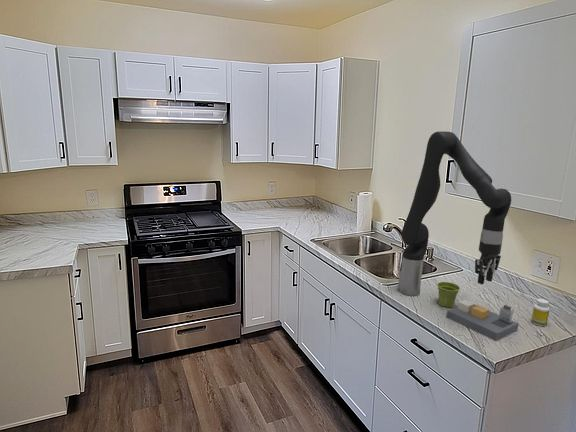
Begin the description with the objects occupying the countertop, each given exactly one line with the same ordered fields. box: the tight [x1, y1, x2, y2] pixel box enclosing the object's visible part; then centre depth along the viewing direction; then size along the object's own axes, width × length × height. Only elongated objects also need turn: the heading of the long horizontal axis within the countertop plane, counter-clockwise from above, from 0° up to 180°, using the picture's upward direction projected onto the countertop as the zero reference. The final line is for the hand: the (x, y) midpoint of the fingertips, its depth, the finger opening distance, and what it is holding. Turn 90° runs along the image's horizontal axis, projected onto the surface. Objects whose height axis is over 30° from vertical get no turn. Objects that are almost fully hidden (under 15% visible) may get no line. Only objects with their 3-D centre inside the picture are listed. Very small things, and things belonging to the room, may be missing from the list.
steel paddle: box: [498, 304, 514, 323], centre depth 152 cm, size 4×2×6 cm, turn 33°
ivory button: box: [457, 299, 476, 313], centre depth 162 cm, size 4×4×4 cm
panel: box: [446, 304, 520, 342], centre depth 157 cm, size 21×15×3 cm
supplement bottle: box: [530, 298, 550, 327], centre depth 158 cm, size 5×5×10 cm
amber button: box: [471, 305, 490, 320], centre depth 157 cm, size 4×4×4 cm
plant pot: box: [436, 281, 461, 308], centre depth 172 cm, size 9×9×9 cm
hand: (484, 282), depth 154 cm, fingers open, 5 cm apart
